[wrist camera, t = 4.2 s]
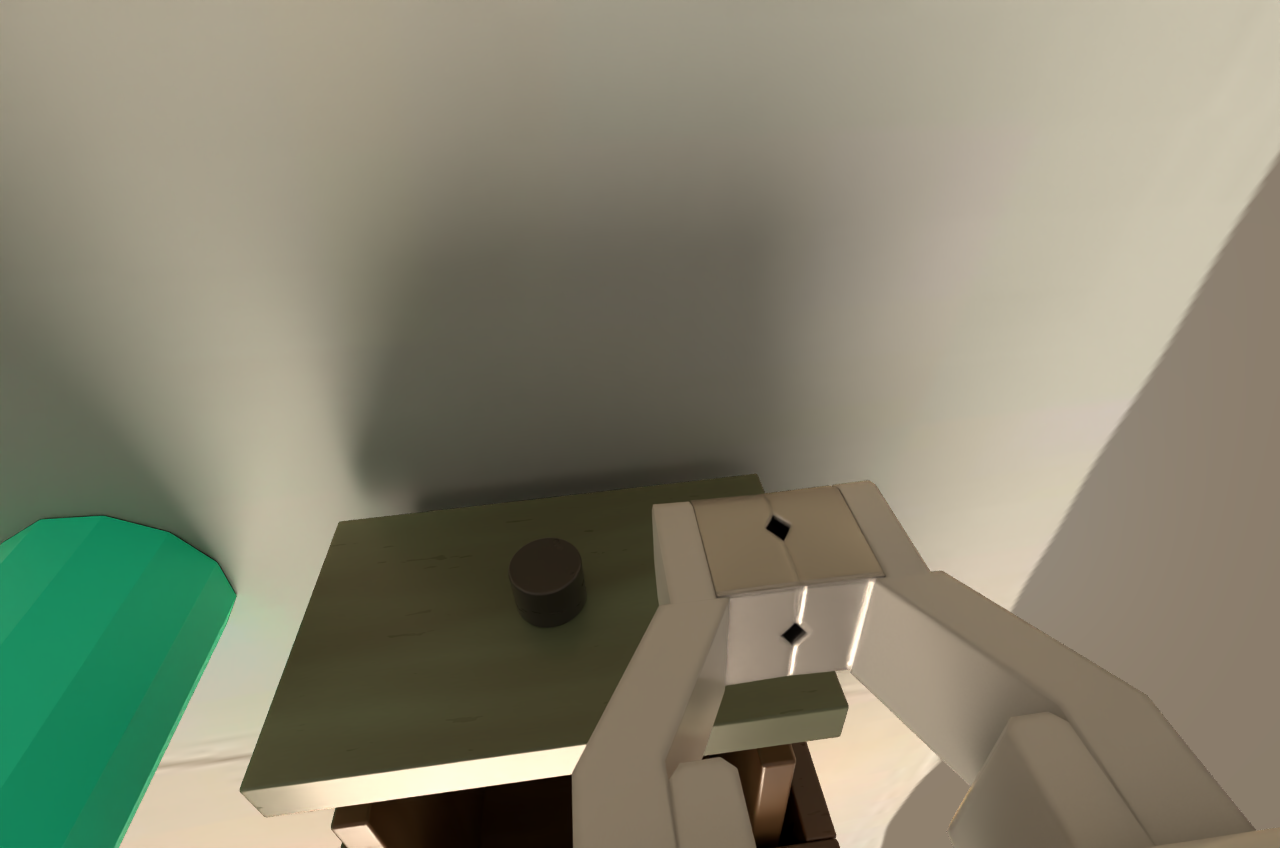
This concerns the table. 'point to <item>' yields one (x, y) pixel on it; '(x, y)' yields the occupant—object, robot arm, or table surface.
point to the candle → (96, 671)
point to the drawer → (495, 675)
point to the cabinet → (804, 808)
